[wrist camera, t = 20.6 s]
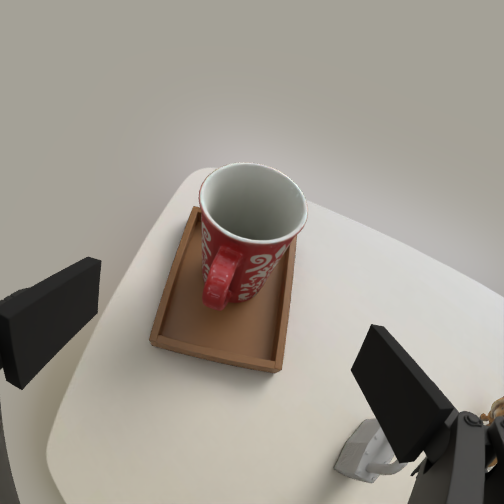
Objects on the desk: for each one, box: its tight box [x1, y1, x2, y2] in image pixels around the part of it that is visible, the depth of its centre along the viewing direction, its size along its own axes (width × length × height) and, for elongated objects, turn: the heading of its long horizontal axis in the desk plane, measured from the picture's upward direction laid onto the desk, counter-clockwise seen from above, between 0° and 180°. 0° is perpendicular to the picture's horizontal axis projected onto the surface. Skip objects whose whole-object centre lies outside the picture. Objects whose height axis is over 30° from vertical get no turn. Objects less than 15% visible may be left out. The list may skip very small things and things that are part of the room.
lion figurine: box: [480, 396, 504, 467], centre depth 24 cm, size 15×5×9 cm, turn 30°
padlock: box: [334, 419, 408, 483], centre depth 22 cm, size 7×4×10 cm, turn 143°
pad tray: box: [149, 206, 297, 373], centre depth 33 cm, size 14×18×2 cm
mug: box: [199, 162, 308, 311], centre depth 28 cm, size 13×9×14 cm
